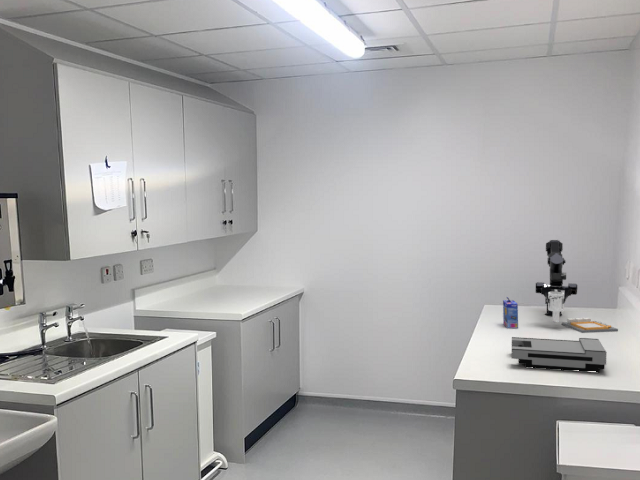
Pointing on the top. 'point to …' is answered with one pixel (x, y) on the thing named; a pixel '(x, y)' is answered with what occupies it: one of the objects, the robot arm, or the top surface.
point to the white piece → (555, 304)
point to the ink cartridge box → (510, 313)
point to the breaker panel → (587, 325)
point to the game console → (560, 353)
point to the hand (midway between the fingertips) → (556, 302)
